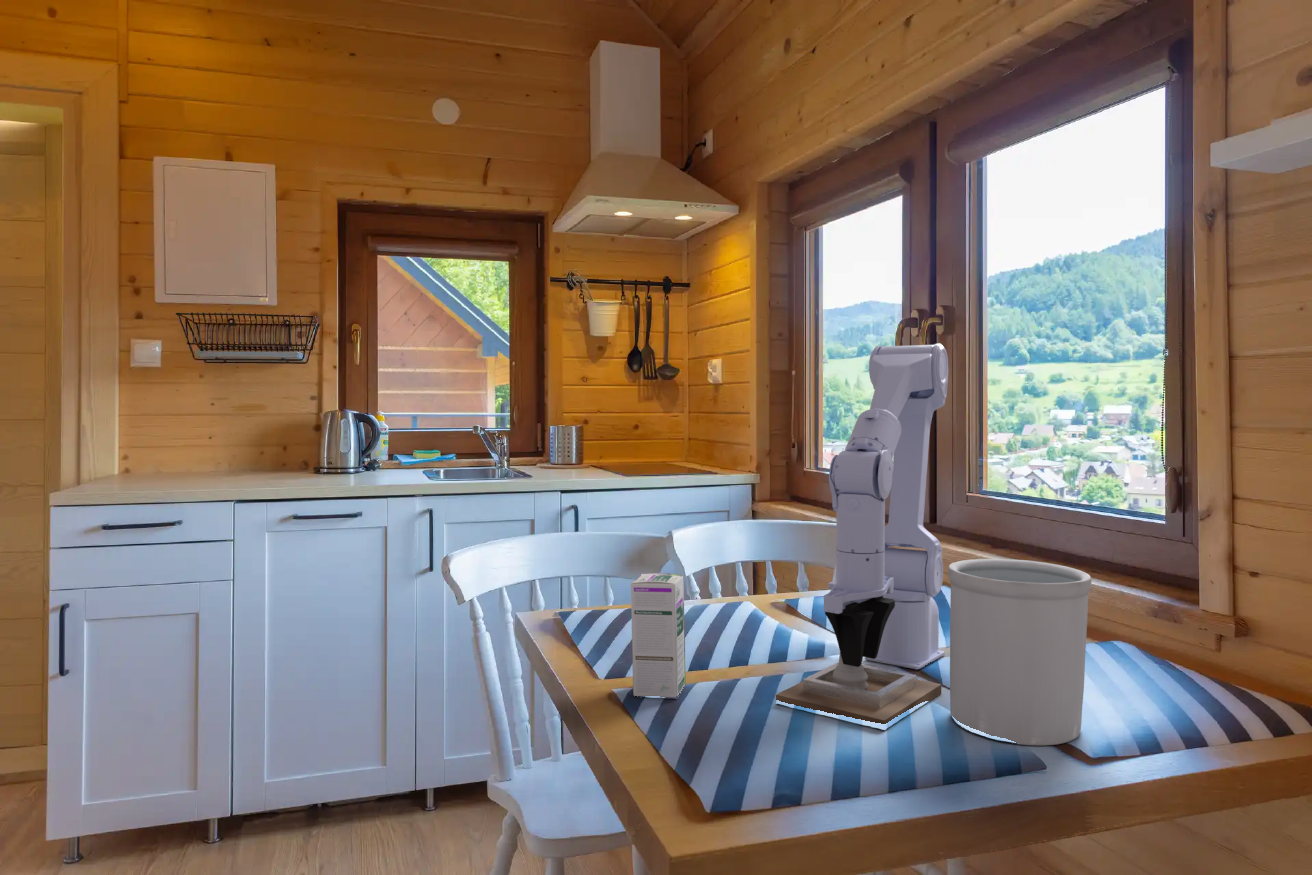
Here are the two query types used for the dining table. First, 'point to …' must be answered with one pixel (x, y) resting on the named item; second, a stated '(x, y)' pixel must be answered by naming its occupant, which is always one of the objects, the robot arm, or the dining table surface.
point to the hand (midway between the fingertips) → (859, 660)
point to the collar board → (862, 694)
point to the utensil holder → (1018, 648)
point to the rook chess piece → (850, 675)
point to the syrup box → (658, 635)
